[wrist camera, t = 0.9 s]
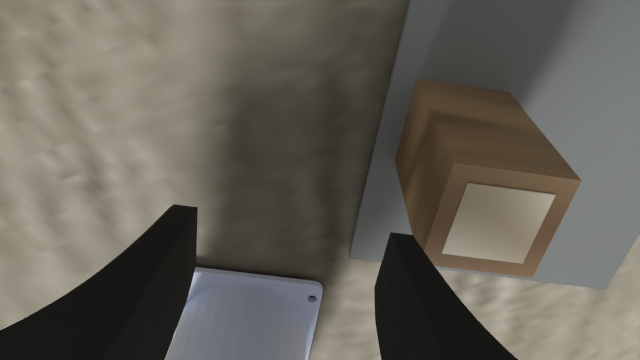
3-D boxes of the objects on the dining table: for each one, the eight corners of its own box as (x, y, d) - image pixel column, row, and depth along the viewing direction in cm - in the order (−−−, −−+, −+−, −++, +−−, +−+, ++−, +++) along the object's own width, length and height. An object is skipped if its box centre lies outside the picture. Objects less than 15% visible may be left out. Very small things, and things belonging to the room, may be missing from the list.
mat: (601, 284, 27) (605, 289, 27) (348, 253, 26) (349, 258, 26) (789, -25, 19) (798, -23, 19) (430, -89, 18) (432, -88, 18)
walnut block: (479, 172, 23) (533, 278, 17) (394, 161, 23) (419, 264, 17) (509, 92, 21) (582, 181, 15) (416, 78, 21) (454, 163, 15)
